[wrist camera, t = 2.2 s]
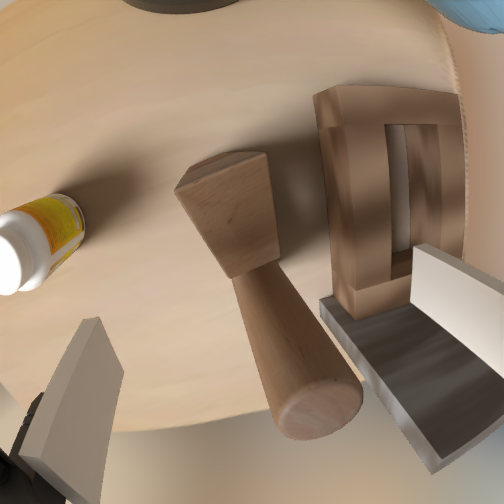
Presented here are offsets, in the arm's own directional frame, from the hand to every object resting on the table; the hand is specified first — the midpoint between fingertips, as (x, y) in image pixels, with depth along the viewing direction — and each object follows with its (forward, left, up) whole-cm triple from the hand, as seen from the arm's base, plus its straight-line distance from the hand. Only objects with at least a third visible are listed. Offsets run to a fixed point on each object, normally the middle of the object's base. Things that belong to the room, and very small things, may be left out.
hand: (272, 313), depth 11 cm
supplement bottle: (-3, -15, -15) cm, 21 cm away
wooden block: (0, 0, -15) cm, 15 cm away
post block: (0, +15, -15) cm, 21 cm away
